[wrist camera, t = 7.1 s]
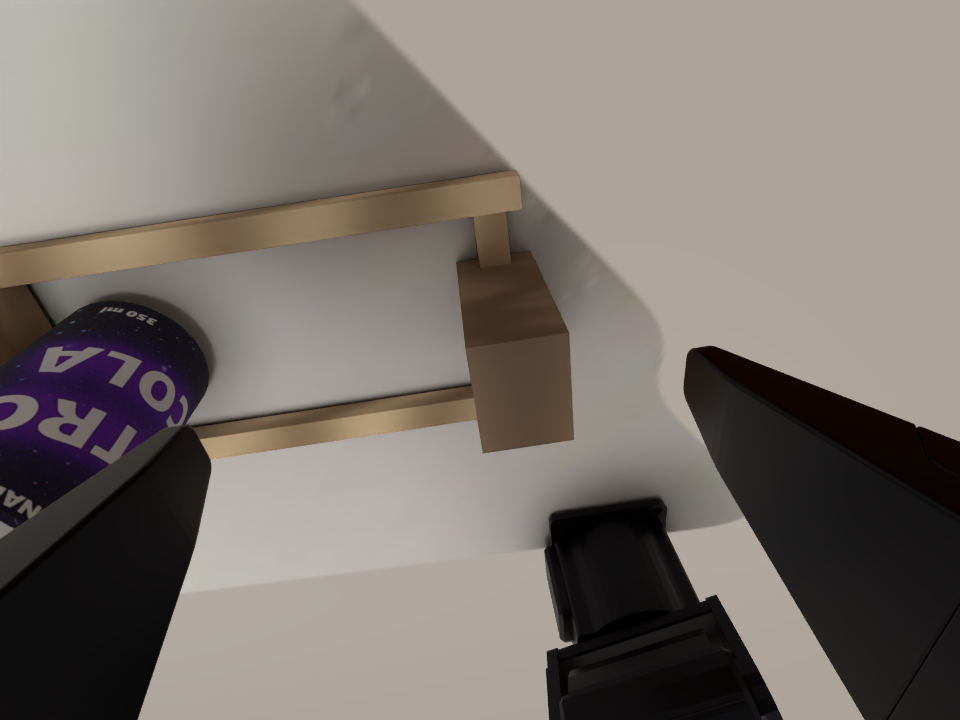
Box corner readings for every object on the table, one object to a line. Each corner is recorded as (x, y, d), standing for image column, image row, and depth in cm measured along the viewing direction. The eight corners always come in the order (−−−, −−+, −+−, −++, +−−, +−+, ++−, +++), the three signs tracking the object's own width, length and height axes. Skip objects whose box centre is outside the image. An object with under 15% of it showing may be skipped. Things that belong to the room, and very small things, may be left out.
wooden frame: (523, 168, 19) (564, 223, 13) (542, 396, 25) (576, 508, 19) (-30, 252, 19) (-238, 344, 13) (109, 461, 25) (5, 594, 19)
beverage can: (224, 410, 24) (68, 682, 14) (90, 404, 23) (-179, 685, 13) (206, 297, 21) (-8, 533, 11) (53, 286, 20) (-331, 527, 10)
